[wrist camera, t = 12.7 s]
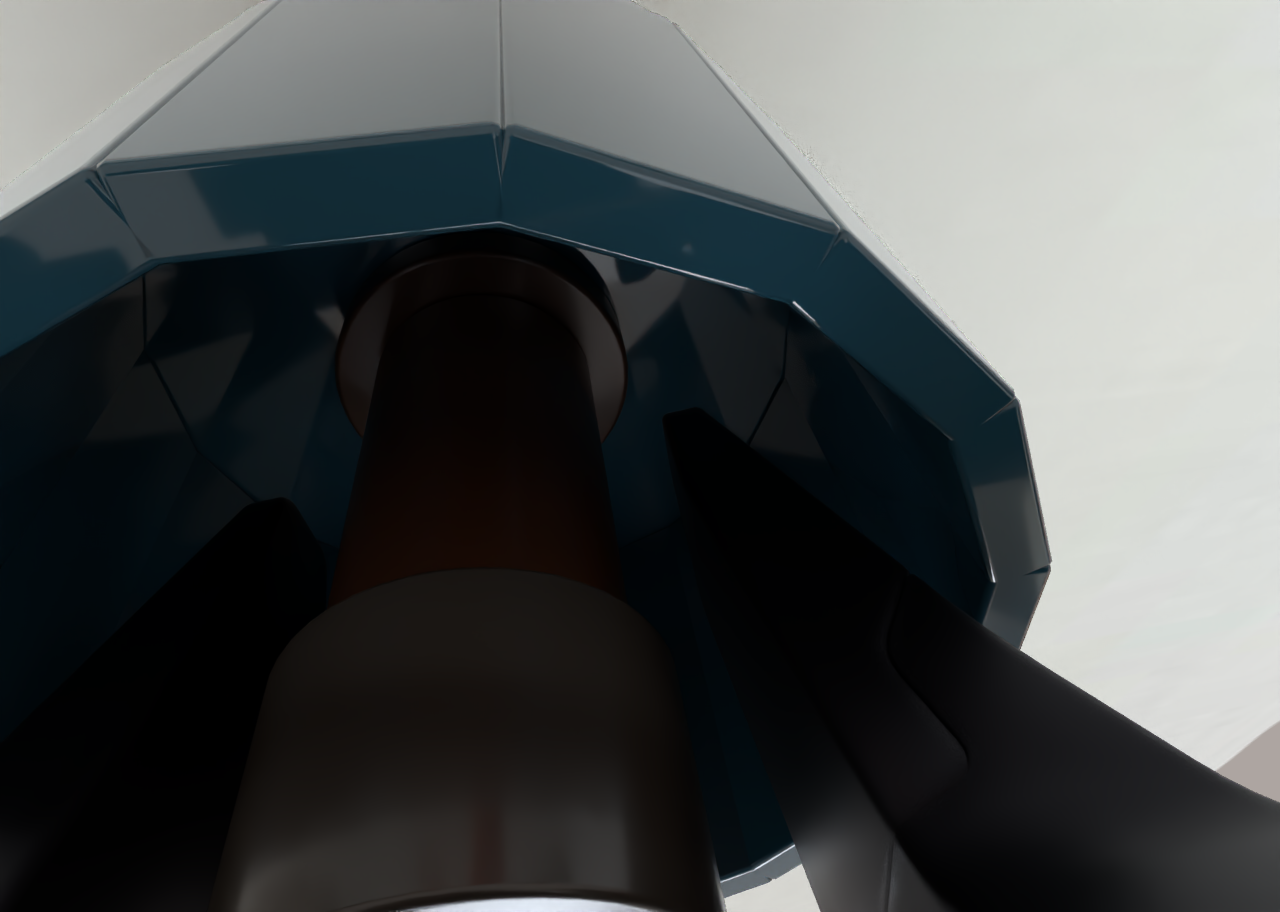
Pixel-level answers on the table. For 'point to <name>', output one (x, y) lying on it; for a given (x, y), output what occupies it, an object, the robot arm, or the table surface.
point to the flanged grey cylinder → (475, 628)
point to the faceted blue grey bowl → (449, 204)
